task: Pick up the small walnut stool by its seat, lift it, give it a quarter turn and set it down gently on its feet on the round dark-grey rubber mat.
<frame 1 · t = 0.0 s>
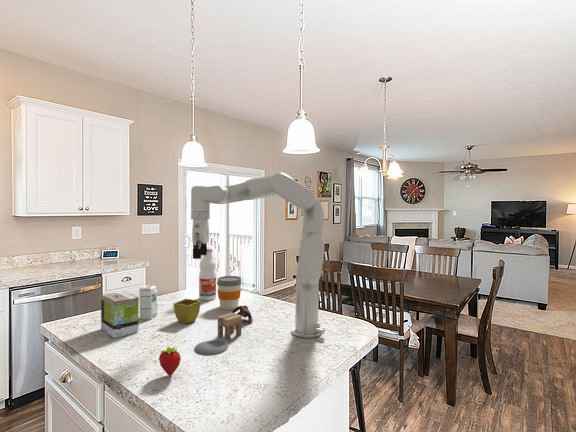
hand: (200, 256, 139), 31 cm above the kitchen island, tool pointing down, fingers open, 9 cm apart
white plastic bottle: (207, 298, 189), on the kitchen island
tea box: (119, 331, 139), on the kitchen island
mat: (211, 347, 124), on the kitchen island
stool: (229, 335, 135), on the kitchen island
syrup box: (148, 317, 156), on the kitchen island
flower pot: (187, 322, 151), on the kitchen island
strawberry: (169, 376, 103), on the kitchen island
reusable coffee cup: (229, 307, 174), on the kitchen island
brown curved piece: (242, 321, 153), on the kitchen island
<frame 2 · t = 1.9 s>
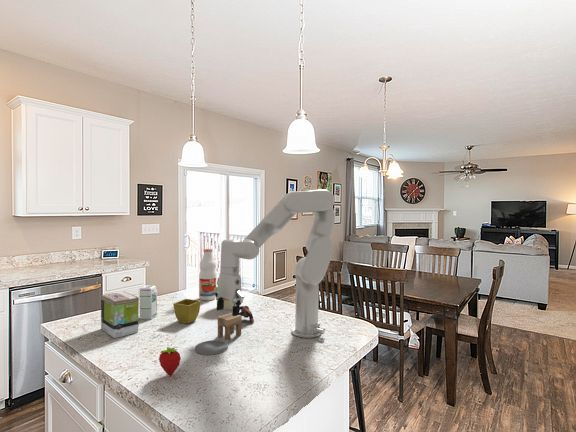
hand: (227, 312, 135), 10 cm above the kitchen island, tool pointing down, fingers open, 9 cm apart
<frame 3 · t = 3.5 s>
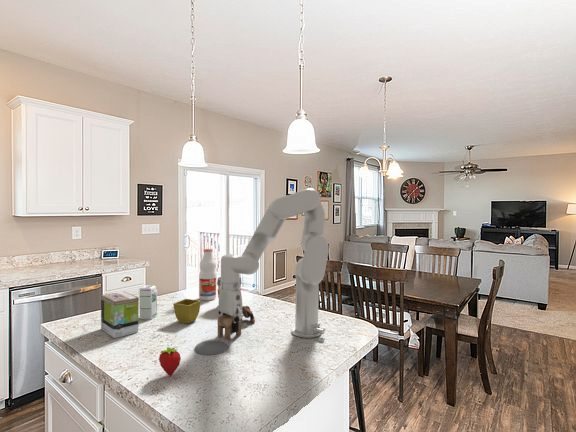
hand: (229, 329, 135), 3 cm above the kitchen island, tool pointing down, fingers closed on stool, 6 cm apart
stool: (229, 335, 135), on the kitchen island, touching gripper
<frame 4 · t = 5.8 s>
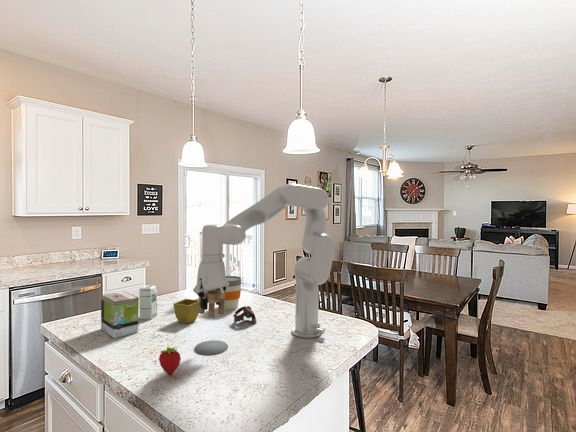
hand: (211, 306, 123), 15 cm above the kitchen island, tool pointing down, fingers closed on stool, 6 cm apart
stool: (211, 313, 123), point 13 cm above the kitchen island, touching gripper
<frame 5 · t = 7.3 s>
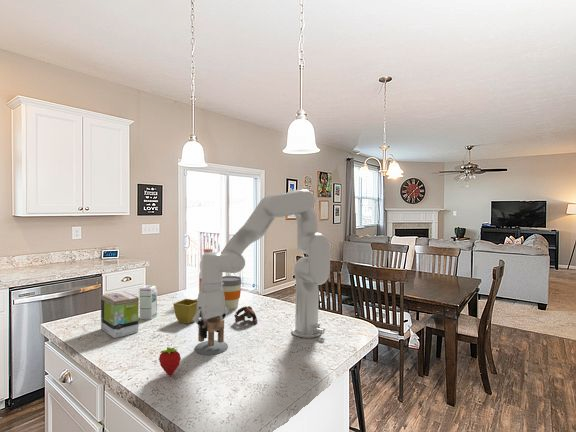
hand: (211, 334, 124), 5 cm above the kitchen island, tool pointing down, fingers closed on stool, 6 cm apart
stool: (210, 341, 124), point 3 cm above the kitchen island, touching gripper
when the fingers open (4 cm above the kitchen island, at t = 8.4 s): stool stays where it is, resting on mat.
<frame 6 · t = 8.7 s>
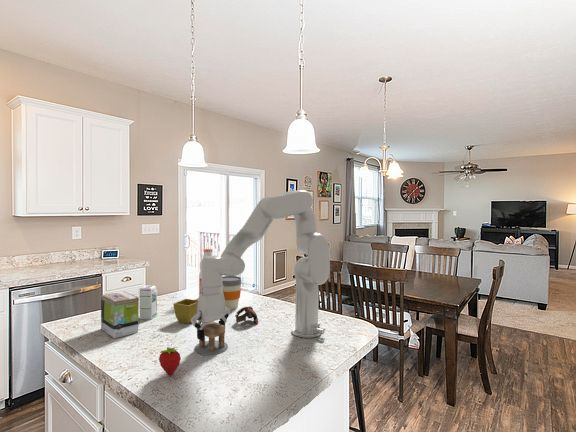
hand: (211, 335, 124), 5 cm above the kitchen island, tool pointing down, fingers open, 9 cm apart
stool: (211, 346, 124), resting on mat
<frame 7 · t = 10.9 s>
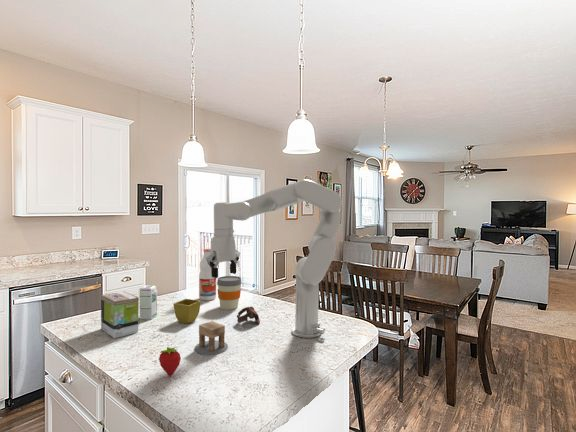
hand: (224, 275, 135), 25 cm above the kitchen island, tool pointing down, fingers open, 9 cm apart
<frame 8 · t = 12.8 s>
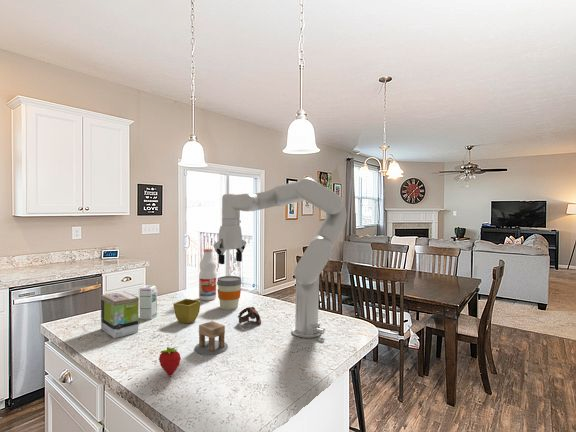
hand: (230, 262, 144), 28 cm above the kitchen island, tool pointing down, fingers open, 9 cm apart
at the end: stool inside the target area on the mat (0.1 cm from its centre), point 0.4 cm above the mat's base; stool tilted 0°; the gripper is holding nothing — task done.
